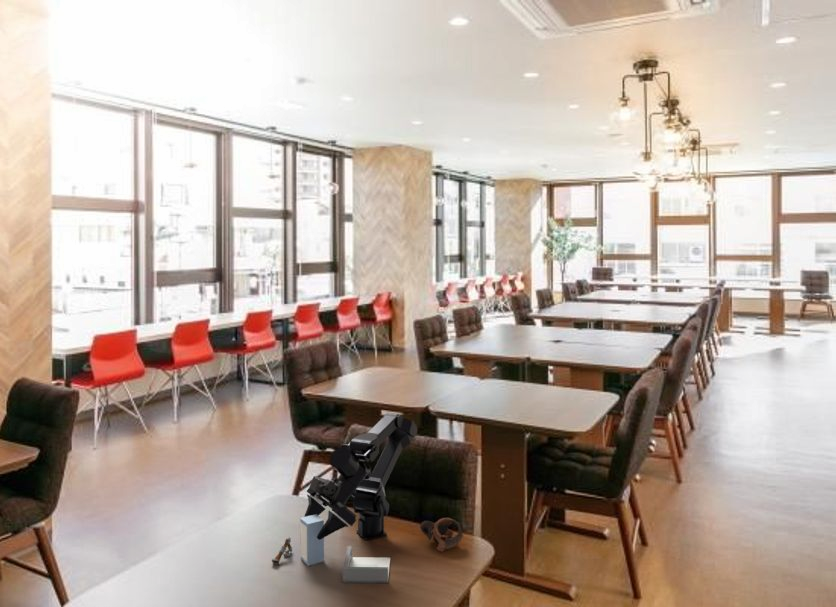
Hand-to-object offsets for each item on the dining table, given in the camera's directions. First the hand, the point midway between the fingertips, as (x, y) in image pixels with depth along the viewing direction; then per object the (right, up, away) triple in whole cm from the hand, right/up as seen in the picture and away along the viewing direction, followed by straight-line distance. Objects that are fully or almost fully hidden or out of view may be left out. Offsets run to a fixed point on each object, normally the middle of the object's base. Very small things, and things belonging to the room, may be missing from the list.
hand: (310, 532), depth 171 cm
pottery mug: (+34, -7, +11) cm, 37 cm away
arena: (+15, -8, -4) cm, 18 cm away
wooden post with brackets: (-8, -8, +2) cm, 11 cm away
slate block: (0, -8, +1) cm, 8 cm away
